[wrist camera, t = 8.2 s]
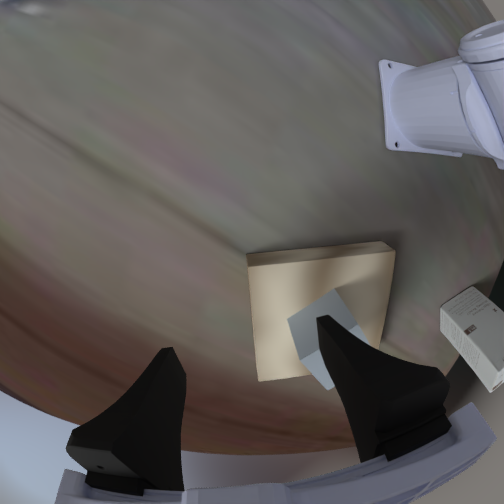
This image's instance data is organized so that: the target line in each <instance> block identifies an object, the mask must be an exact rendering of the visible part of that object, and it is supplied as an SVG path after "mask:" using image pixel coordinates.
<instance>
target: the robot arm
mask: <svg viewBox="0 0 504 504" xmlns="http://www.w3.org/2000/svg"><path fill="white" fill-rule="evenodd" d="M458 53H459V55H460V56H456V57H452V58H448V59H444V60H441V61H437V62H433V63H430V64H426V65H423V66H420V67H414V66H411V65H407V64H403V63H398V62H394V61H389V60H381V61H379V71H380V79H381V87H382V97H383V108H384V121H385V140H386V147H387V148H388V149H389V150H397V151H410V152H421V153H431V154H440V155H448V156H456V157H461V156H462V155H463V153H465V154H472V155H478V156H483V157H489V158H493V159H494V160H495V162H496V164H497V166H498V168H499V169H502V170H504V20H500V21H496V22H493V23H490V24H487V25H485V26H482V27H480V28H478V29H476V30H474V31H472V32H470V33H468V34H467V35H465V36H464V37H463V38H462V39H461V40H460V47H459V48H458ZM388 64H389V65H390V66H391V68H389V67H388ZM396 142H397V144H398V145H397V147H396V146H395V143H396ZM316 322H317V331H318V341H319V349H320V352H321V355H322V358H323V361H324V364H325V367H326V369H327V371H328V373H329V375H330V377H331V379H332V381H333V383H334V385H335V387H336V389H337V391H338V394H339V396H340V398H341V400H342V402H343V405H344V408H345V411H346V414H347V417H348V420H349V423H350V426H351V429H352V433H353V436H354V439H355V443H356V446H357V449H358V454H359V458H360V462H361V463H360V464H357V465H354V466H351V467H348V468H344V469H341V470H338V471H334V472H331V473H327V474H324V475H320V476H316V477H311V478H307V479H303V480H299V481H293V482H288V483H282V484H279V483H261V484H251V485H242V486H232V487H231V486H230V487H214V488H195V489H188V490H186V491H184V484H183V476H182V466H181V425H182V418H183V411H184V404H185V397H186V373H185V371H184V369H183V367H182V365H181V363H180V361H179V359H178V357H177V355H176V353H175V351H174V349H173V347H168V348H162V349H161V350H160V351H159V352H158V353H157V355H156V356H155V357H154V359H153V360H152V361H151V363H150V364H149V365H148V367H147V368H146V369H145V371H144V372H143V373H142V374H141V376H140V377H139V378H138V379H137V380H136V382H135V383H134V384H133V385H132V386H131V387H130V388H129V390H128V391H127V392H126V393H125V394H124V395H123V396H122V397H121V398H120V399H118V400H117V401H116V402H115V403H114V404H113V405H111V406H110V407H109V408H108V409H106V410H105V411H104V412H102V413H101V414H100V415H98V416H97V417H95V418H93V419H92V420H90V421H89V422H87V423H85V424H83V425H81V426H79V427H77V428H75V429H73V430H72V433H71V436H70V438H69V441H68V443H67V446H66V451H67V453H68V454H69V456H70V457H72V458H73V459H74V460H75V461H76V462H77V463H79V464H80V465H81V466H82V467H84V468H85V469H86V470H87V475H85V474H83V473H80V472H76V471H72V470H67V469H65V470H64V473H63V477H62V480H61V483H60V486H59V490H58V493H57V497H56V501H55V504H409V503H411V502H413V501H415V500H417V499H418V498H420V497H422V496H424V495H426V494H428V493H429V492H431V491H433V490H434V489H436V488H438V487H439V486H441V485H443V484H444V483H446V482H448V481H449V480H451V479H452V478H454V477H455V476H457V475H459V474H460V473H461V472H463V471H464V470H466V469H468V468H469V467H470V466H472V465H473V464H475V463H476V462H477V460H479V459H480V457H481V456H482V455H483V454H484V453H485V452H486V451H487V450H488V449H489V448H490V447H491V445H492V444H493V443H494V442H495V441H496V439H497V437H496V435H495V434H494V432H493V431H492V429H491V428H490V427H489V425H488V424H487V422H486V421H485V420H484V418H483V416H482V415H481V414H480V412H479V411H478V410H477V408H476V407H475V405H474V404H473V402H470V403H469V404H467V405H466V406H464V407H463V408H461V409H459V410H458V411H456V412H454V413H453V414H452V415H451V416H450V417H449V418H447V417H446V415H445V413H446V409H445V407H444V406H443V403H444V401H445V399H446V396H447V394H448V391H449V388H450V383H449V381H448V380H447V379H446V377H445V376H444V375H443V373H442V372H441V371H440V370H439V369H438V368H436V367H430V366H424V365H419V364H415V363H411V362H407V361H404V360H401V359H398V358H396V357H393V356H390V355H388V354H386V353H383V352H381V351H379V350H377V349H375V348H374V347H372V346H370V345H368V344H367V343H365V342H364V341H362V340H361V339H359V338H358V337H356V336H355V335H353V334H352V333H351V332H349V331H348V330H347V329H345V328H344V327H343V326H342V325H340V324H339V323H338V322H337V321H336V320H335V319H333V318H332V317H331V316H330V315H324V316H320V317H316Z"/></svg>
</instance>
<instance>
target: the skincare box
mask: <svg viewBox="0 0 504 504" xmlns="http://www.w3.org/2000/svg"><path fill="white" fill-rule="evenodd" d="M440 331H441V332H442V333H443V334H444V335H445V336H446V338H447V339H448V340H449V341H450V342H451V343H452V345H453V346H454V347H455V348H456V349H457V351H458V352H459V353H460V354H461V356H462V357H463V358H464V359H465V360H466V362H467V363H468V364H469V366H470V367H471V368H472V369H473V371H475V373H476V374H477V376H478V377H479V378H480V380H481V381H482V382H483V384H484V385H485V386H486V388H487V389H488V391H489V392H492V391H494V390H495V389H496V388H497V387H498V386H500V385H501V384H502V383H503V382H504V312H503V311H502V310H501V309H500V308H498V307H497V306H496V305H495V304H494V303H493V302H492V301H490V300H489V299H488V298H487V297H486V296H484V295H483V294H482V293H481V292H480V291H478V290H477V289H476V288H475V287H473V286H471V287H469V288H468V289H466V290H465V291H463V292H462V293H460V294H458V295H457V296H455V297H454V298H452V299H451V300H449V301H448V302H446V303H445V304H443V305H442V306H441V309H440Z"/></svg>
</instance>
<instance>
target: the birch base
mask: <svg viewBox="0 0 504 504" xmlns="http://www.w3.org/2000/svg"><path fill="white" fill-rule="evenodd" d="M395 253H396V251H395V250H394V249H392V248H391V247H390V246H388V245H387V244H385V243H384V242H383V241H376V242H366V243H356V244H346V245H336V246H325V247H315V248H305V249H295V250H284V251H274V252H264V253H253V254H246V258H247V269H248V280H249V291H250V302H251V313H252V324H253V334H254V345H255V355H256V365H257V373H258V381H268V380H276V379H283V378H290V377H297V376H304V375H310V374H312V373H311V372H310V371H309V370H308V369H307V368H306V367H305V366H304V365H303V364H302V362H301V361H300V360H299V356H298V353H297V350H296V347H295V344H294V340H293V337H292V334H291V331H290V327H289V324H288V321H287V319H288V318H289V317H291V316H292V315H294V314H296V313H297V312H299V311H300V310H302V309H303V308H305V307H307V306H308V305H310V304H311V303H313V302H314V301H316V300H317V299H319V298H320V297H322V296H323V295H325V294H326V293H328V292H329V291H331V290H332V289H335V290H336V292H337V293H338V295H339V296H340V298H341V299H342V301H343V302H344V303H345V305H346V306H347V308H348V309H349V311H350V313H351V314H352V316H353V317H354V319H355V320H356V322H357V323H358V325H359V326H360V328H361V330H362V332H363V333H364V335H365V337H366V338H367V340H368V342H369V344H370V345H371V346H372V347H374V348H375V349H377V350H378V348H379V344H380V340H381V335H382V331H383V326H384V322H385V317H386V312H387V306H388V301H389V295H390V289H391V283H392V276H393V269H394V261H395Z"/></svg>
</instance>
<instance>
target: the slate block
mask: <svg viewBox="0 0 504 504" xmlns="http://www.w3.org/2000/svg"><path fill="white" fill-rule="evenodd" d="M324 315H330V316H331V317H332V318H333V319H335V320H336V321H337V322H338V323H339V324H340V325H342V326H343V327H344V328H345V329H347V330H348V331H349V332H351V333H352V334H353V335H355V336H356V337H358V338H359V339H361V340H362V341H364V342H365V343H367V344H368V345H370V344H369V342H368V340H367V338H366V337H365V335H364V333H363V332H362V330H361V328H360V326H359V325H358V323H357V322H356V320H355V319H354V317H353V316H352V314H351V313H350V311H349V309H348V308H347V306H346V305H345V303H344V302H343V301H342V299H341V298H340V296H339V295H338V293H337V292H336V290H335V289H332V290H331V291H329V292H328V293H326V294H325V295H323V296H322V297H320V298H319V299H317V300H316V301H314V302H313V303H311V304H310V305H308V306H307V307H305V308H303V309H302V310H300V311H299V312H297V313H296V314H294V315H292V316H291V317H289V318H288V319H287V321H288V324H289V327H290V331H291V334H292V337H293V340H294V344H295V347H296V350H297V353H298V356H299V360H300V361H301V362H302V364H303V365H304V366H305V367H306V368H307V369H308V370H309V371H310V372H311V373H312V374H313V375H314V377H315V378H316V379H317V380H318V381H319V382H320V383H321V384H322V385H323V386H324V387H325V388H326V389H327V390H329V389H331V388H333V387H335V385H334V383H333V381H332V379H331V377H330V375H329V373H328V371H327V369H326V367H325V364H324V361H323V358H322V355H321V352H320V349H319V341H318V331H317V322H316V317H320V316H324ZM370 346H371V345H370Z"/></svg>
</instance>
